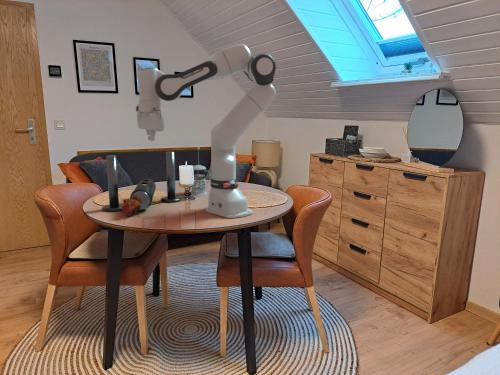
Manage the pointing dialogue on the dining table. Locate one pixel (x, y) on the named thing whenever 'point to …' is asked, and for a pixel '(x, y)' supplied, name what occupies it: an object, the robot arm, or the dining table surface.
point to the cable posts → (113, 183)
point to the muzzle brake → (144, 193)
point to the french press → (199, 189)
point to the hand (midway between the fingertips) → (151, 140)
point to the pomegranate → (131, 207)
